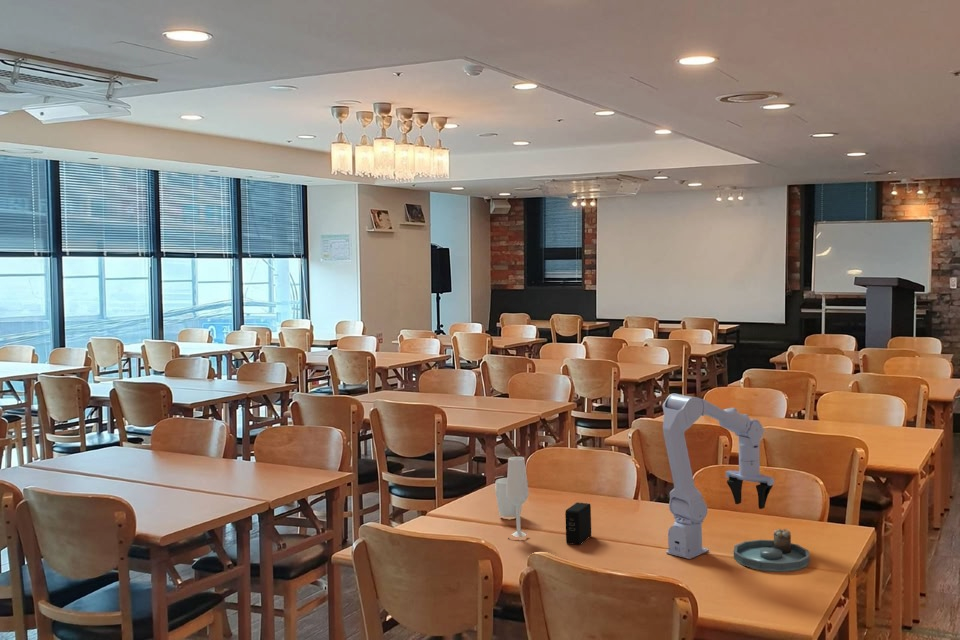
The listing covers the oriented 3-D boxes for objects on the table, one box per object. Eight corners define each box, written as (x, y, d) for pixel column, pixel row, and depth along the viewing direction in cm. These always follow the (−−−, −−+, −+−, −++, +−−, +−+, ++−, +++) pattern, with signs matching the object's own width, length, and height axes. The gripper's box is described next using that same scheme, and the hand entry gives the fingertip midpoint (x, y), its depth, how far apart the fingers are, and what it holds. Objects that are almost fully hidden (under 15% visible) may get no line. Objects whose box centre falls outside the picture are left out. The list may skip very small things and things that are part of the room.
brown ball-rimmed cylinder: (785, 555, 244) (785, 534, 243) (770, 551, 247) (770, 530, 247) (793, 551, 247) (793, 530, 246) (779, 547, 250) (778, 527, 250)
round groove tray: (786, 577, 229) (785, 568, 229) (720, 560, 244) (720, 552, 243) (822, 558, 242) (822, 550, 242) (757, 543, 257) (757, 535, 256)
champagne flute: (534, 538, 269) (532, 458, 267) (515, 542, 265) (513, 461, 264) (521, 532, 275) (519, 454, 273) (503, 536, 271) (500, 458, 269)
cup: (491, 516, 293) (490, 479, 293) (516, 511, 297) (515, 476, 296) (503, 523, 285) (502, 485, 284) (529, 518, 289) (527, 481, 288)
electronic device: (565, 544, 262) (564, 510, 262) (578, 534, 271) (577, 501, 270) (579, 545, 260) (578, 511, 260) (591, 535, 269) (590, 502, 268)
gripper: (779, 460, 258) (780, 507, 259) (734, 453, 269) (735, 498, 269) (766, 465, 253) (767, 512, 254) (721, 457, 264) (722, 503, 265)
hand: (749, 505), depth 261 cm, fingers open, 7 cm apart
